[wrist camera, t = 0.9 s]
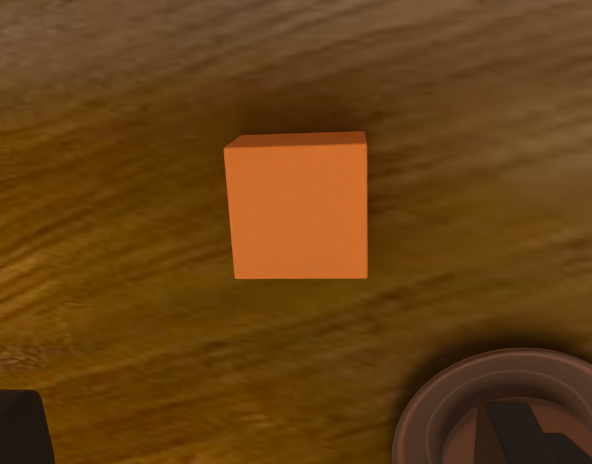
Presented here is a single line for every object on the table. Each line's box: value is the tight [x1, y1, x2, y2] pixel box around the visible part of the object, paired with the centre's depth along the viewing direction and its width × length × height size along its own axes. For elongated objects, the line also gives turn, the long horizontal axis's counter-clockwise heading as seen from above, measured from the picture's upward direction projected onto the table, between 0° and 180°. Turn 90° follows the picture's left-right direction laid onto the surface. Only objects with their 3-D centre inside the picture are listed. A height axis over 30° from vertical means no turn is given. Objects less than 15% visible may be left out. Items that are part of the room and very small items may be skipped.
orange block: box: [224, 131, 368, 279], centre depth 23 cm, size 6×6×4 cm
